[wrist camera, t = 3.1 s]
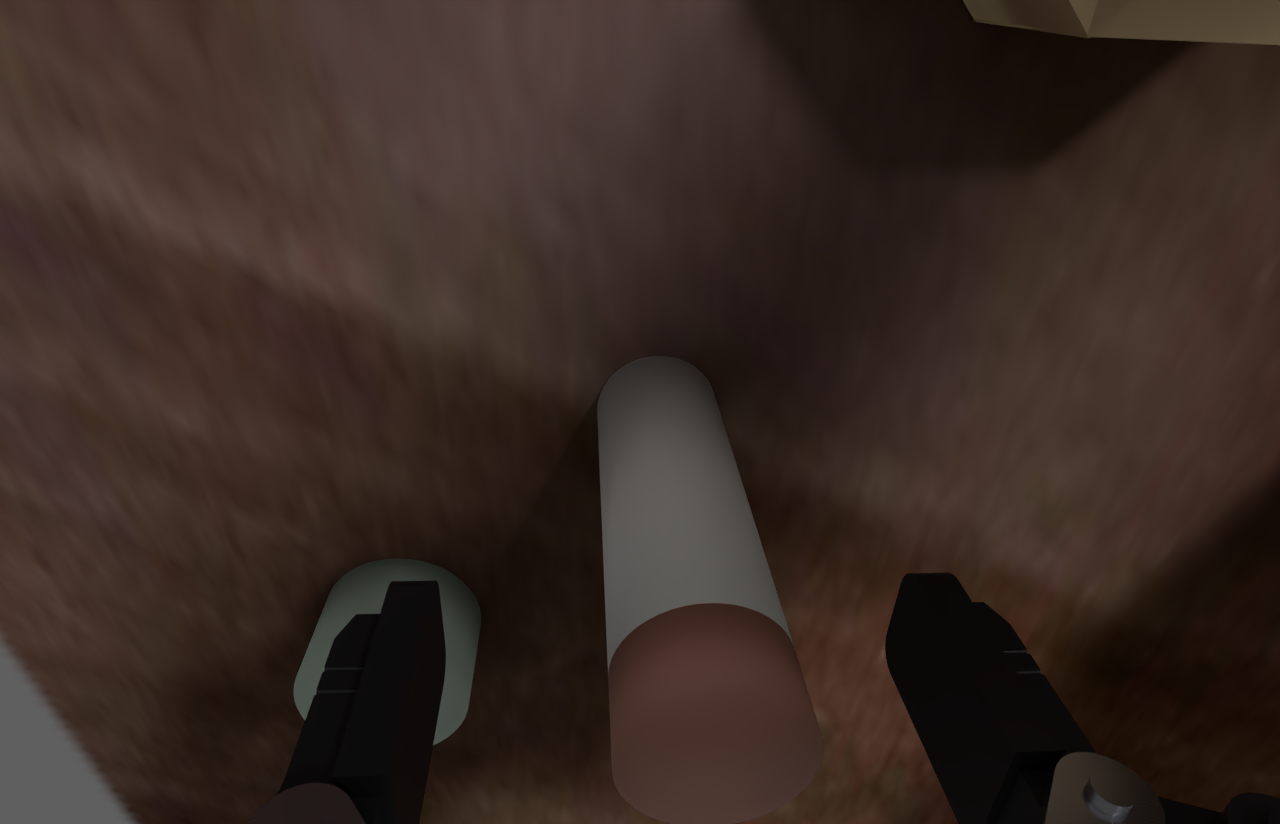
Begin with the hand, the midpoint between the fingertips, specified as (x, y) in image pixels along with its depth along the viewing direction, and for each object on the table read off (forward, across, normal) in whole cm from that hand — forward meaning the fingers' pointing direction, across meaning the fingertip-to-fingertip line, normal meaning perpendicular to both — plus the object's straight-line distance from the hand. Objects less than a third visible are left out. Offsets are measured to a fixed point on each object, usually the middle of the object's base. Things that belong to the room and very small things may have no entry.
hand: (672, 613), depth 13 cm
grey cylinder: (+7, 0, 0) cm, 7 cm away
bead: (+7, +7, +7) cm, 12 cm away
